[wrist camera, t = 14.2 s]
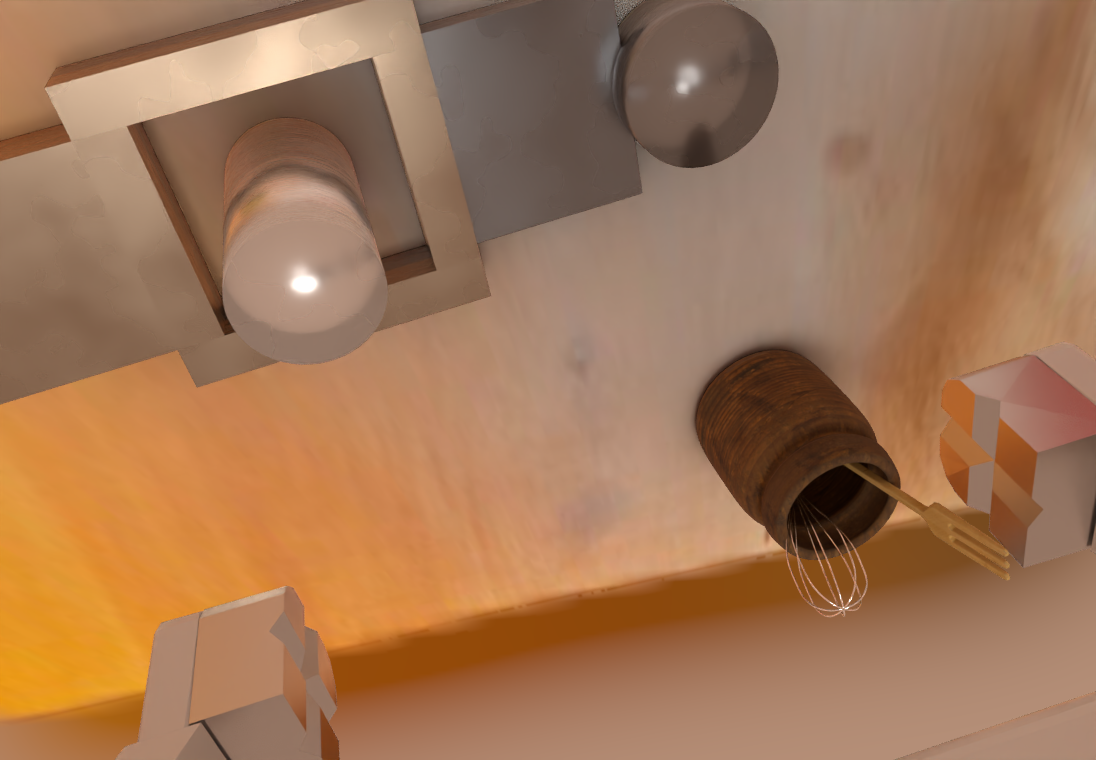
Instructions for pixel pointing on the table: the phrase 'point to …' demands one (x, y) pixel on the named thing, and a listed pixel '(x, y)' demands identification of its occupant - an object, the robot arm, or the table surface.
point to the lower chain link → (567, 101)
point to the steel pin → (298, 245)
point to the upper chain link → (150, 222)
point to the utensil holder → (812, 464)
